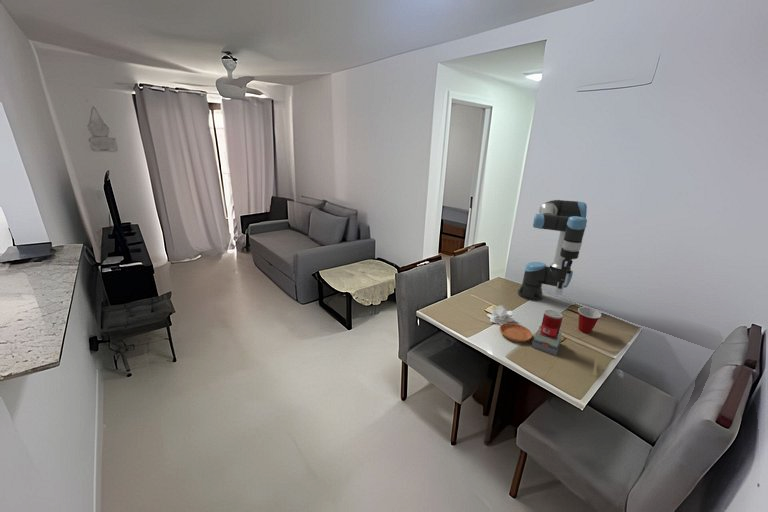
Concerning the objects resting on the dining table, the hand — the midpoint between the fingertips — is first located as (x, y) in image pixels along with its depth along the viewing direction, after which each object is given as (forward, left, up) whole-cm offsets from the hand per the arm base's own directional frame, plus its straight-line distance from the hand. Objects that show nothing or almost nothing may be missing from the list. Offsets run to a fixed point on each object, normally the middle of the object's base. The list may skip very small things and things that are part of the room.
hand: (560, 289), depth 152 cm
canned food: (+10, 0, -21) cm, 23 cm away
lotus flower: (0, -26, -28) cm, 38 cm away
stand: (+10, 0, -27) cm, 29 cm away
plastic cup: (-19, +14, -28) cm, 36 cm away
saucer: (+11, -15, -28) cm, 33 cm away
